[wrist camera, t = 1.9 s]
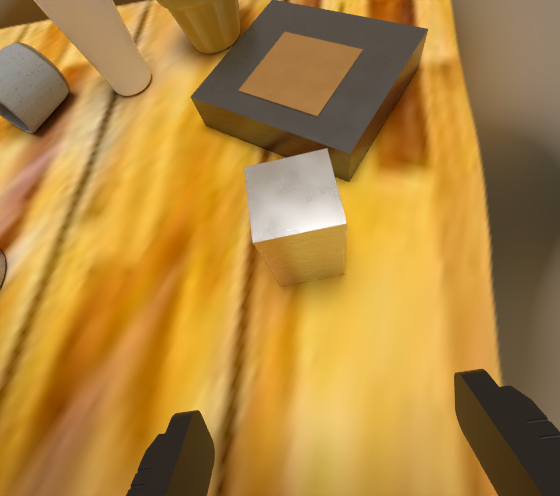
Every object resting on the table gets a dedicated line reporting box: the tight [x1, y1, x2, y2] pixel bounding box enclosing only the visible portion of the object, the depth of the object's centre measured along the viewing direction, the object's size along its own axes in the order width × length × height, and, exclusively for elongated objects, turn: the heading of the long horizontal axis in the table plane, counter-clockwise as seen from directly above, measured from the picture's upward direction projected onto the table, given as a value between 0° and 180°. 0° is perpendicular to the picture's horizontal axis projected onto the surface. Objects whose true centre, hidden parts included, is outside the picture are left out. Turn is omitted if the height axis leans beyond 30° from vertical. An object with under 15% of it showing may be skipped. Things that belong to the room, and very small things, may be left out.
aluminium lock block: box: [244, 148, 347, 286], centre depth 23 cm, size 6×6×10 cm
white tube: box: [34, 0, 151, 96], centre depth 34 cm, size 7×7×15 cm
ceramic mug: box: [0, 42, 69, 133], centre depth 39 cm, size 11×8×8 cm
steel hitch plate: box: [191, 0, 428, 181], centre depth 33 cm, size 18×16×4 cm
